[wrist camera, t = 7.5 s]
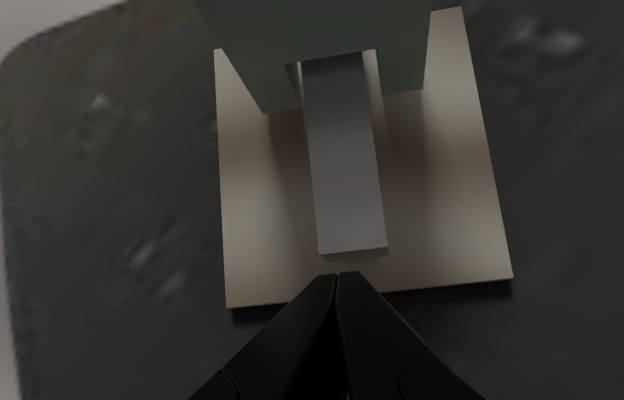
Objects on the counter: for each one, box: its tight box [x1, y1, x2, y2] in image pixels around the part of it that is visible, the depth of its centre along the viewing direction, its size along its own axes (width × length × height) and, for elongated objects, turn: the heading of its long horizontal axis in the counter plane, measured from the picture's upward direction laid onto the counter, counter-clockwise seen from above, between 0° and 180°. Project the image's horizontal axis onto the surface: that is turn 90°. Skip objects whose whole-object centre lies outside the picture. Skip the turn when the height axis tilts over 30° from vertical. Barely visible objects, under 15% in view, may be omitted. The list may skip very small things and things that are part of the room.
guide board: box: [214, 7, 513, 309], centre depth 19 cm, size 10×10×1 cm
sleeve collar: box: [192, 0, 432, 114], centre depth 15 cm, size 3×6×8 cm, turn 95°
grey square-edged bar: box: [301, 51, 389, 264], centre depth 18 cm, size 10×2×4 cm, turn 5°
